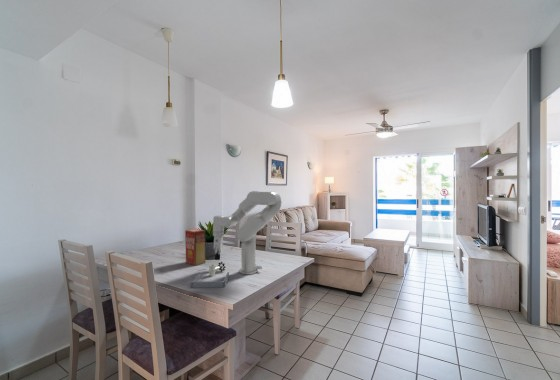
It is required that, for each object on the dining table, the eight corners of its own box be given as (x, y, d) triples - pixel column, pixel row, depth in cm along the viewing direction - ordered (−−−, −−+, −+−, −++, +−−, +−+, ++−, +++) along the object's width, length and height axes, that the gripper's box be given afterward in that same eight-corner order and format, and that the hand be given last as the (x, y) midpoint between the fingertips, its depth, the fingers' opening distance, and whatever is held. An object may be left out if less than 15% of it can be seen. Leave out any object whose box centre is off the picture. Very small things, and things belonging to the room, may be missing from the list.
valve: (213, 277, 165) (225, 271, 176) (213, 267, 165) (225, 262, 176) (206, 275, 168) (218, 270, 179) (206, 265, 168) (218, 261, 179)
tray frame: (229, 276, 166) (229, 272, 166) (224, 287, 149) (224, 281, 149) (199, 277, 165) (199, 272, 165) (191, 287, 148) (191, 282, 148)
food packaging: (184, 262, 197) (184, 230, 197) (195, 260, 204) (195, 228, 204) (195, 266, 189) (195, 231, 189) (206, 263, 196) (206, 230, 196)
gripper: (221, 235, 173) (220, 263, 173) (225, 231, 188) (224, 256, 188) (210, 235, 173) (209, 262, 173) (215, 231, 187) (214, 256, 188)
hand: (217, 259), depth 180 cm, fingers closed
